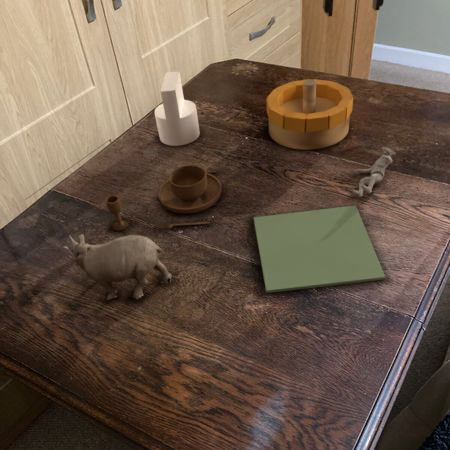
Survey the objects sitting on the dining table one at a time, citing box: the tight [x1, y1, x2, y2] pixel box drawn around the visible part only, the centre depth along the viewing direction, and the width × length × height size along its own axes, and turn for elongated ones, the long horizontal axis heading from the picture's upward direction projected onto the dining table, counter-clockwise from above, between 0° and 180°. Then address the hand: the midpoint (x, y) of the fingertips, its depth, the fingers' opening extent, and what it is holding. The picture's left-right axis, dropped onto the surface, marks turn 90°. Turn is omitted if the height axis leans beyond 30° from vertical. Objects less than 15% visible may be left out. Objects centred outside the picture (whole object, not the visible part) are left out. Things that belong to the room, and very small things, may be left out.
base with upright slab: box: [154, 71, 201, 147], centre depth 105 cm, size 9×9×12 cm
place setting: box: [104, 164, 222, 232], centre depth 91 cm, size 18×20×6 cm
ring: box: [266, 78, 354, 132], centre depth 102 cm, size 17×17×3 cm
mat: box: [253, 204, 386, 294], centre depth 80 cm, size 18×18×1 cm
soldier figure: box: [351, 146, 397, 198], centre depth 90 cm, size 8×5×12 cm
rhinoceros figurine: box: [62, 233, 173, 301], centre depth 76 cm, size 8×14×15 cm
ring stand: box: [267, 79, 351, 151], centre depth 103 cm, size 17×17×10 cm
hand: (352, 12), depth 90 cm, fingers open, 8 cm apart
